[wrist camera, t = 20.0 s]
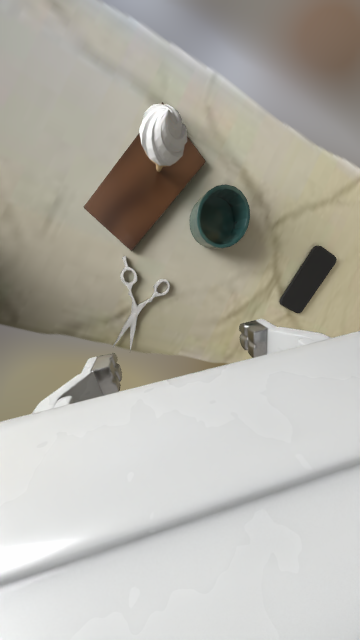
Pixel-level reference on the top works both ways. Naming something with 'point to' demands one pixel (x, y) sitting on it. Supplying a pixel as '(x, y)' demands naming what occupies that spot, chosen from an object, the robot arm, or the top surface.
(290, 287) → the phone
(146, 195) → the board
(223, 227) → the cup
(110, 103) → the top surface
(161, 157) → the ice cream cone
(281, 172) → the top surface
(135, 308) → the scissors
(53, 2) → the top surface
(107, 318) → the top surface
